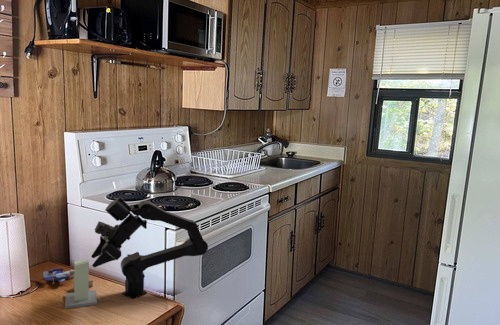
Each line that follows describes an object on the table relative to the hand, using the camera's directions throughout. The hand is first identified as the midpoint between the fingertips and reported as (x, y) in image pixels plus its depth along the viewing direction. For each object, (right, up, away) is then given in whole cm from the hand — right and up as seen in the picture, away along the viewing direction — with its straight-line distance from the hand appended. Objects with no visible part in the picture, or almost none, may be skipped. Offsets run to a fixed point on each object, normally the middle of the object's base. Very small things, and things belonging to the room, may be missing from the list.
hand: (92, 261), depth 137 cm
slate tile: (-4, -13, 0) cm, 14 cm away
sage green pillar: (-4, -12, 0) cm, 13 cm away
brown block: (-7, -13, +10) cm, 17 cm away
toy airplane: (-18, -11, +15) cm, 26 cm away
